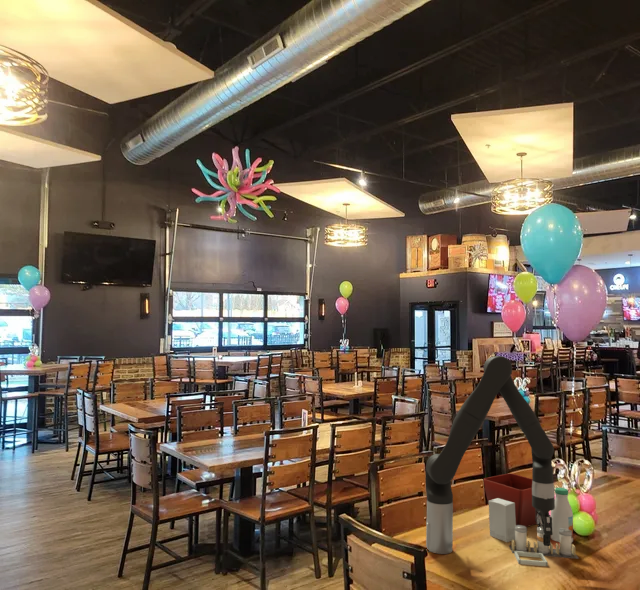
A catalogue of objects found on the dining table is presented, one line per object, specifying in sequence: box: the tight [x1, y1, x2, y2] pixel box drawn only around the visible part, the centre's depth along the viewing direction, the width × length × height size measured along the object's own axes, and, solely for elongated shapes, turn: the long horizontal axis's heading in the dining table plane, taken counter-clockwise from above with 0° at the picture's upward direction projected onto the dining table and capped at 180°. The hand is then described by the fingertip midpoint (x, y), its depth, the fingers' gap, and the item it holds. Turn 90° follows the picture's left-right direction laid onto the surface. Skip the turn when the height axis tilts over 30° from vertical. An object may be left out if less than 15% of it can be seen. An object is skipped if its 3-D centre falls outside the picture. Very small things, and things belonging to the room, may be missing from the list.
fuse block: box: [508, 540, 580, 560], centre depth 196 cm, size 22×7×4 cm, turn 81°
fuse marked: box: [536, 527, 550, 554], centre depth 196 cm, size 4×4×8 cm
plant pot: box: [483, 472, 537, 528], centre depth 231 cm, size 19×19×17 cm
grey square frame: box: [513, 551, 549, 567], centre depth 189 cm, size 9×8×3 cm
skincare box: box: [488, 498, 516, 543], centre depth 210 cm, size 8×6×15 cm
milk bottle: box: [550, 487, 574, 543], centre depth 209 cm, size 8×8×20 cm
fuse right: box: [559, 528, 572, 556], centre depth 195 cm, size 4×4×8 cm
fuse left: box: [514, 525, 528, 552], centre depth 198 cm, size 4×4×8 cm
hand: (543, 540), depth 196 cm, fingers open, 8 cm apart
